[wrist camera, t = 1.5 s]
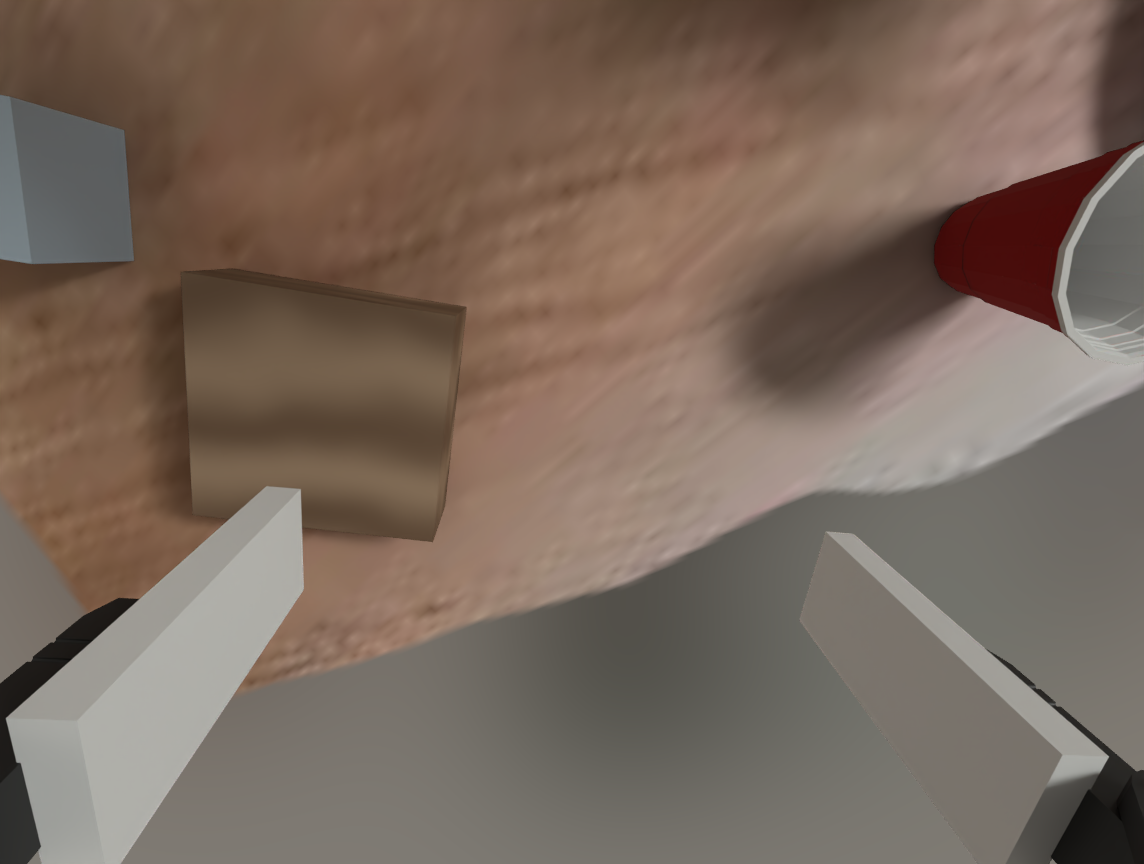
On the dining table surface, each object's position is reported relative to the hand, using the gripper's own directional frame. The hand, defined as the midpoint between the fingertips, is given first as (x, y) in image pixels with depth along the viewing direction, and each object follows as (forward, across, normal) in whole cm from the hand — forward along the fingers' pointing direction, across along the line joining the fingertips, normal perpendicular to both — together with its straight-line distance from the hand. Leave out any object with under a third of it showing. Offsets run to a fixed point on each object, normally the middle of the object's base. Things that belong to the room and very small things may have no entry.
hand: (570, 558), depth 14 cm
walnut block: (+24, -13, -3) cm, 27 cm away
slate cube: (+24, -28, +7) cm, 38 cm away
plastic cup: (+24, +27, +11) cm, 37 cm away
